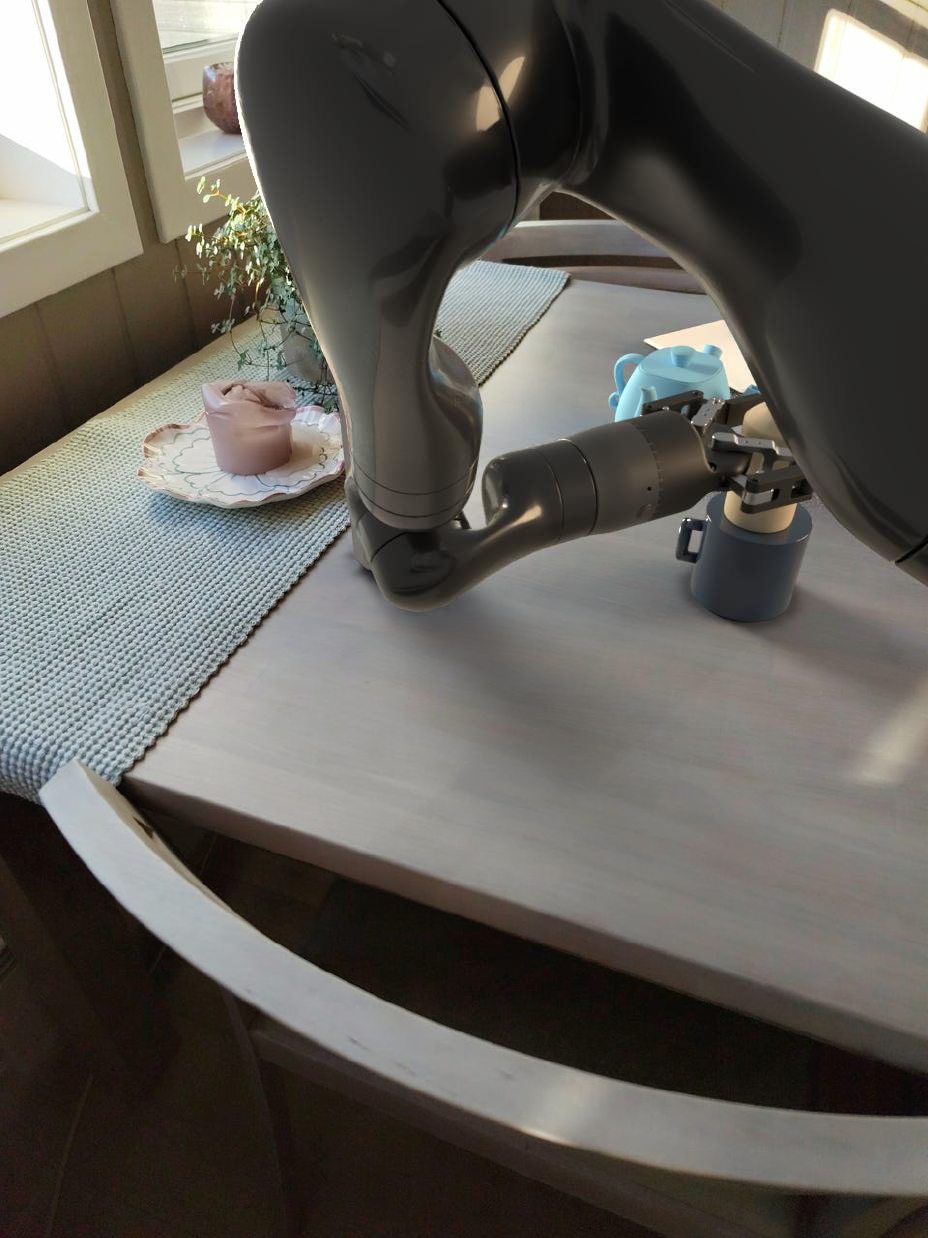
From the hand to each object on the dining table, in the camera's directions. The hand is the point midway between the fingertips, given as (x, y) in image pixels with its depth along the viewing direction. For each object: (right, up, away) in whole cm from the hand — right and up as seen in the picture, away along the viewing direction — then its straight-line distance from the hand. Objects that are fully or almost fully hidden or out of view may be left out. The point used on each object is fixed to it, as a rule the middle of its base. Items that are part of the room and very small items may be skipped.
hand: (798, 427), depth 68 cm
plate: (+11, +19, +47) cm, 52 cm away
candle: (-2, -6, +4) cm, 8 cm away
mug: (-2, -12, +9) cm, 16 cm away
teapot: (-3, +4, +30) cm, 30 cm away
